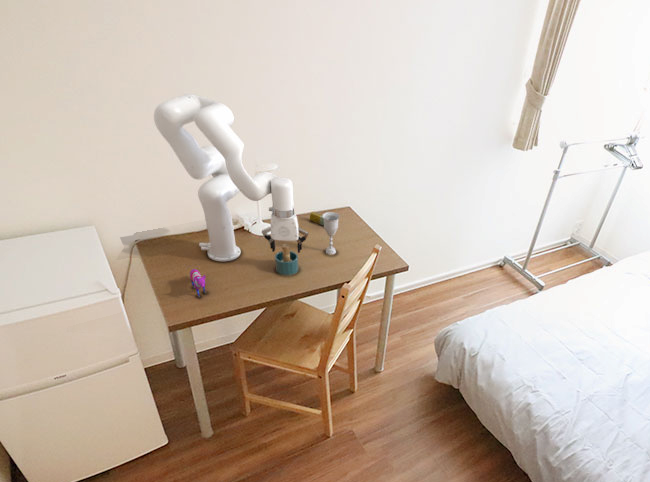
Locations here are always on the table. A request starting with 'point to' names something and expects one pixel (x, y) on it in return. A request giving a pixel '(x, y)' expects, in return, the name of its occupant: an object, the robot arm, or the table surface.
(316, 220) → the medication box
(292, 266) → the crock
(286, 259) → the pestle
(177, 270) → the table surface
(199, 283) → the toy dog
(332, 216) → the chalice
